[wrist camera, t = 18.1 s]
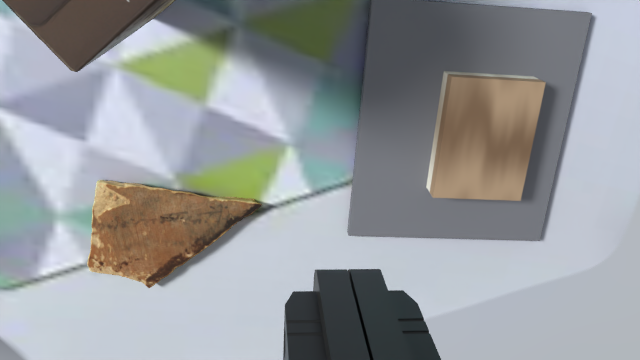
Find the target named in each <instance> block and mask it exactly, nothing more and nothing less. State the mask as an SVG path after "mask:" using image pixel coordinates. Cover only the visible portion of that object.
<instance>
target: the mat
mask: <svg viewBox="0 0 640 360" xmlns="http://www.w3.org/2000/svg"><path fill="white" fill-rule="evenodd" d="M591 15H592V13H588V12H577V11H563V10H548V9H534V8H520V7H506V6H492V5H478V4H464V3H450V2H436V1H422V0H371V3H370V13H369V23H368V33H367V43H366V52H365V62H364V72H363V82H362V92H361V102H360V112H359V122H358V132H357V142H356V152H355V162H354V172H353V182H352V192H351V202H350V212H349V222H348V235H349V236H379V237H416V238H452V239H489V240H526V241H540V237H541V233H542V228H543V224H544V220H545V215H546V211H547V207H548V202H549V198H550V193H551V189H552V185H553V180H554V176H555V172H556V167H557V163H558V159H559V154H560V150H561V146H562V141H563V137H564V133H565V128H566V124H567V119H568V115H569V111H570V106H571V102H572V98H573V93H574V89H575V85H576V80H577V76H578V72H579V67H580V63H581V59H582V54H583V50H584V46H585V41H586V37H587V32H588V28H589V24H590V19H591ZM444 71H450V72H467V73H484V74H500V75H517V76H533V77H536V78H538V79H540V80H542V81H544V82H546V84H545V88H544V93H543V98H542V102H541V107H540V112H539V116H538V121H537V126H536V131H535V135H534V140H533V145H532V149H531V154H530V159H529V163H528V168H527V173H526V177H525V182H524V187H523V192H522V196H521V201H511V200H484V199H456V198H433V197H432V195H431V194H430V192H429V191H428V189H427V188H426V186H427V179H428V172H429V166H430V159H431V153H432V146H433V139H434V133H435V126H436V119H437V113H438V106H439V99H440V93H441V86H442V79H443V73H444Z"/></svg>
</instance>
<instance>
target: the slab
mask: <svg viewBox="0 0 640 360" xmlns="http://www.w3.org/2000/svg"><path fill="white" fill-rule="evenodd" d="M545 84H546V82H544V81H542V80H540V79H538V78H536V77H533V76H517V75H500V74H484V73H467V72H450V71H444V73H443V79H442V86H441V93H440V99H439V106H438V113H437V119H436V126H435V133H434V139H433V146H432V153H431V159H430V166H429V172H428V179H427V186H426V188H427V189H428V191H429V192H430V194H431V195H432V197H433V198H456V199H484V200H511V201H521V196H522V192H523V187H524V182H525V177H526V173H527V168H528V163H529V159H530V154H531V149H532V145H533V140H534V135H535V131H536V126H537V121H538V116H539V112H540V107H541V102H542V98H543V93H544V88H545Z"/></svg>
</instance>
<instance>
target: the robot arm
mask: <svg viewBox="0 0 640 360" xmlns="http://www.w3.org/2000/svg"><path fill="white" fill-rule="evenodd" d="M283 360H441V358H440V356H439V354H438V352H437V349H436V347H435V344H434V342H433V339H432V337H431V335H430V334H429V330H428V328H427V325H426V323H425V321H424V318H423V316H422V313H421V311H420V308H419V306H418V304H417V303H416V302H415V301H414V300H413V299H412V298H411V297H410V296H409V295H407V294H406V293H405V292H404V291H388V289H387V287H386V284H385V281H384V278H383V275H382V273H381V270H380V269H349V270H348V271H347V270H315V274H314V288H313V291H306V292H293V293H292V295H291V296H290V298H289V299H288V301H287V303H286V304H285V321H284V352H283Z"/></svg>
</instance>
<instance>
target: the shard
mask: <svg viewBox="0 0 640 360" xmlns="http://www.w3.org/2000/svg"><path fill="white" fill-rule="evenodd" d="M261 206H262V204H260V203H257V202H255V199H246V198H237V197H210V196H201V195H196V194H194V193H192V192H184V191H172V190H168V189H164V188H153V187H148V186H144V185H141V184H136V183H119V182H116V181H104V180H98V181H97V184H96V190H95V199H94V205H93V209H92V234H91V250H90V254H89V257H88V267H89V270H90V271H92V272H97V273H105V274H112V275H119V276H122V277H127V278H129V279H133V280H136V281H139V282H142V283H144V284H145V285H146V286H147V287H148V288H150V287H152V286H154V285H155V283H157V282H159V281H160V280H161V279H162V278H164V277H166V276H168V275H169V274H170V273H172V272H173V271H174V270H175V269H176V268H177V267H179V266H181V265H183V264H184V263H186V262H187V261H188V260H189V259H191V258H192V257H194V256H195V255H197V254H199V253H200V252H201V251H203V250H204V249H205V248H206V247H207V246H209V245H211V244H212V243H213V242H214V241H216V240H217V239H218V238H220V237H221V236H222V235H223V234H224V233H226V232H227V231H228V230H229V229H230V228H231V227H232V226H233V225H234V224H236V223H237V222H238V221H240V220H242V219H243V218H244V217H246V216H249V215H251V214H252V213H253V212H254V211H255V210H257V209H258V208H259V207H261Z"/></svg>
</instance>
